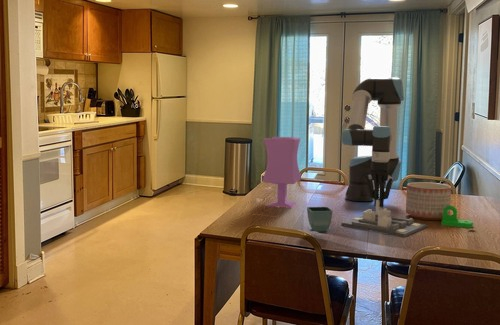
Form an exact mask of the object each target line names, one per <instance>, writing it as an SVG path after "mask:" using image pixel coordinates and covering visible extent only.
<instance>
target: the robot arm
mask: <svg viewBox="0 0 500 325" xmlns="http://www.w3.org/2000/svg"><path fill="white" fill-rule="evenodd" d="M352 101H353V102H352V107H351V110H350V111H351V112H350V115H349V116H350V117H349V122H348V125H347V126H348V128H345V129H343V130H342V131H341V143H342V145H344V146H354V147H355V146H358V147H359V146H361V147H364V146H365V147H372V148H371V149H372V150H371V155H362V156H354V157H352V158H350V159H349V166H348V168H349V169H348V170H349V174H348V175H349V176H348V179H349V180H348V186H347V189H346V192H345V196H344V197H345V199H346V200H349V201H354V202H355V201H356V202H371V201H373V206H374V207H375V212H376V215H378V210H381V209H383V208H384V203H385V202H384V201H385V200H388V199H389V196H390V192H391V190H392V185H393V183H394V182H397V181H399V177H400V172H401V166H402V159H400V156H399V154H397V134H398V112H399V110H398V109H399V107H400V106H401V104H402V102H404V101H405V93H404V84H403V79H402V78H400V77H393V76H392V77H370V78H367V79H364V80H363V81H360V83H359V84H358V85H357V86H356V87H355V89H354V90H353V93H352ZM371 101H373V102H377V105H378V106H379V108H380V110H379V111H380V112H379V114H380V115H379V118H380V119H379V125H374V126H372V129H365V128H366V122H367V121H366V120H367V115H368V109H369V104H370V103H371ZM386 182H387V183H386Z"/></svg>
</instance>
